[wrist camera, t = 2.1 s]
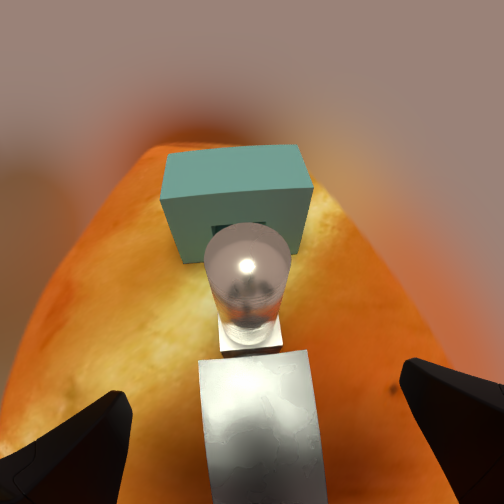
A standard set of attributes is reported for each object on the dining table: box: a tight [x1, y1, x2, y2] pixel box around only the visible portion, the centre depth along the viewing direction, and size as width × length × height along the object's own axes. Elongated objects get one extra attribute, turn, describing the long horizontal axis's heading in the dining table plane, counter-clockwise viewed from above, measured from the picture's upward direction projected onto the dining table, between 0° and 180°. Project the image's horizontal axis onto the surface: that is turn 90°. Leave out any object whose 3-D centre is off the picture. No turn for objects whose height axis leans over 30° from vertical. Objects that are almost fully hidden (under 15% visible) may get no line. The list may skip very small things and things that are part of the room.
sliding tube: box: [204, 222, 291, 359], centre depth 12 cm, size 19×4×11 cm, turn 6°
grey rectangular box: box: [198, 349, 328, 504], centre depth 13 cm, size 12×6×5 cm, turn 6°
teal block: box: [160, 145, 314, 264], centre depth 22 cm, size 5×10×8 cm, turn 96°
